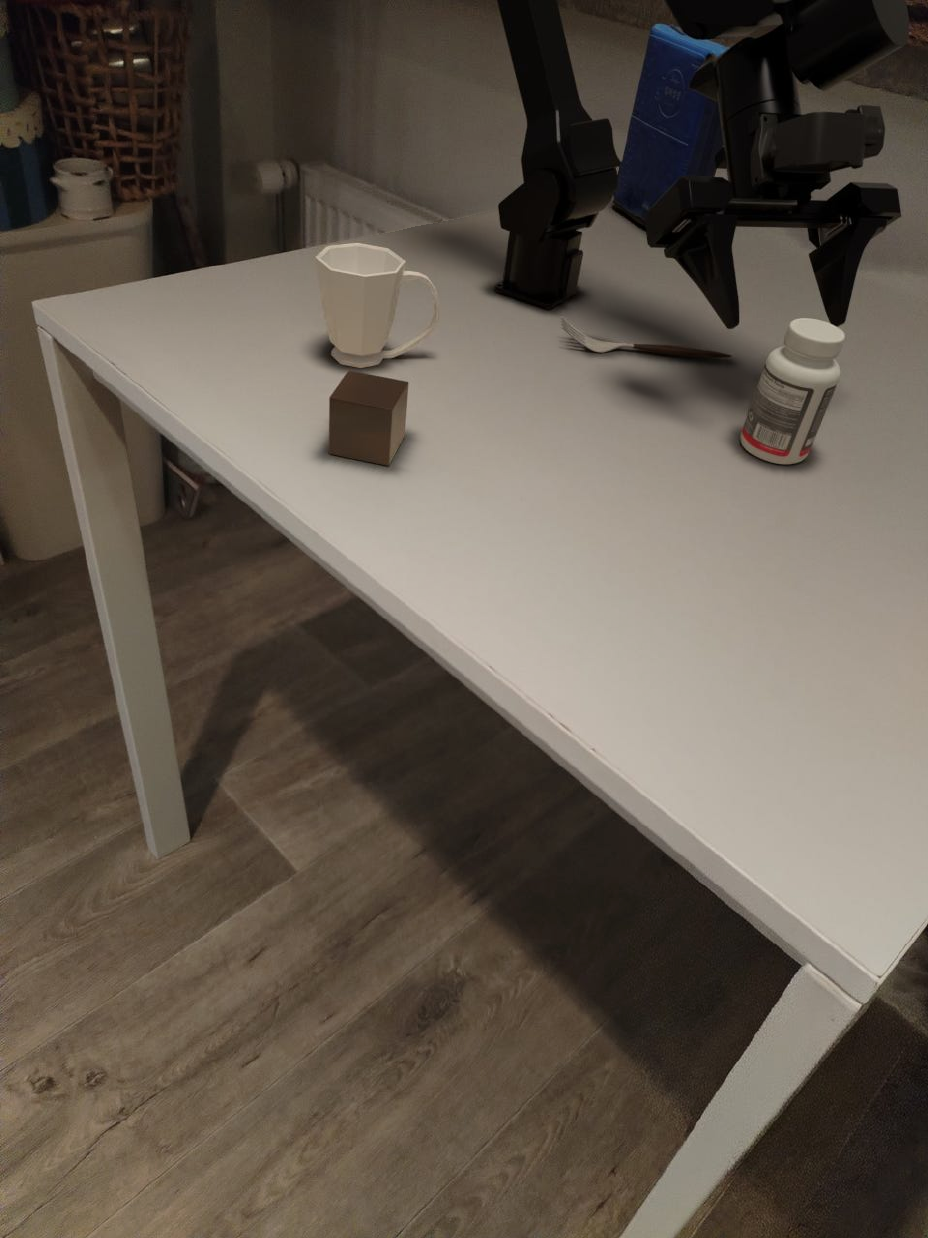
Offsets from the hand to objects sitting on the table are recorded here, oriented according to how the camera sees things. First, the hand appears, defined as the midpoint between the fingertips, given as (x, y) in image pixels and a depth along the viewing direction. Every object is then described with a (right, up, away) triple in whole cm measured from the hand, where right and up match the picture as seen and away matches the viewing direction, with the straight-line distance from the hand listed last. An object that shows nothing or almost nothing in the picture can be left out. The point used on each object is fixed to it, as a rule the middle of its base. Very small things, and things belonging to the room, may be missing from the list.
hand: (787, 326), depth 68 cm
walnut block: (-31, -10, -3) cm, 33 cm away
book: (-1, +26, +43) cm, 50 cm away
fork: (-8, +2, +15) cm, 17 cm away
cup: (-32, 0, +8) cm, 33 cm away
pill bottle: (0, -9, +3) cm, 9 cm away
